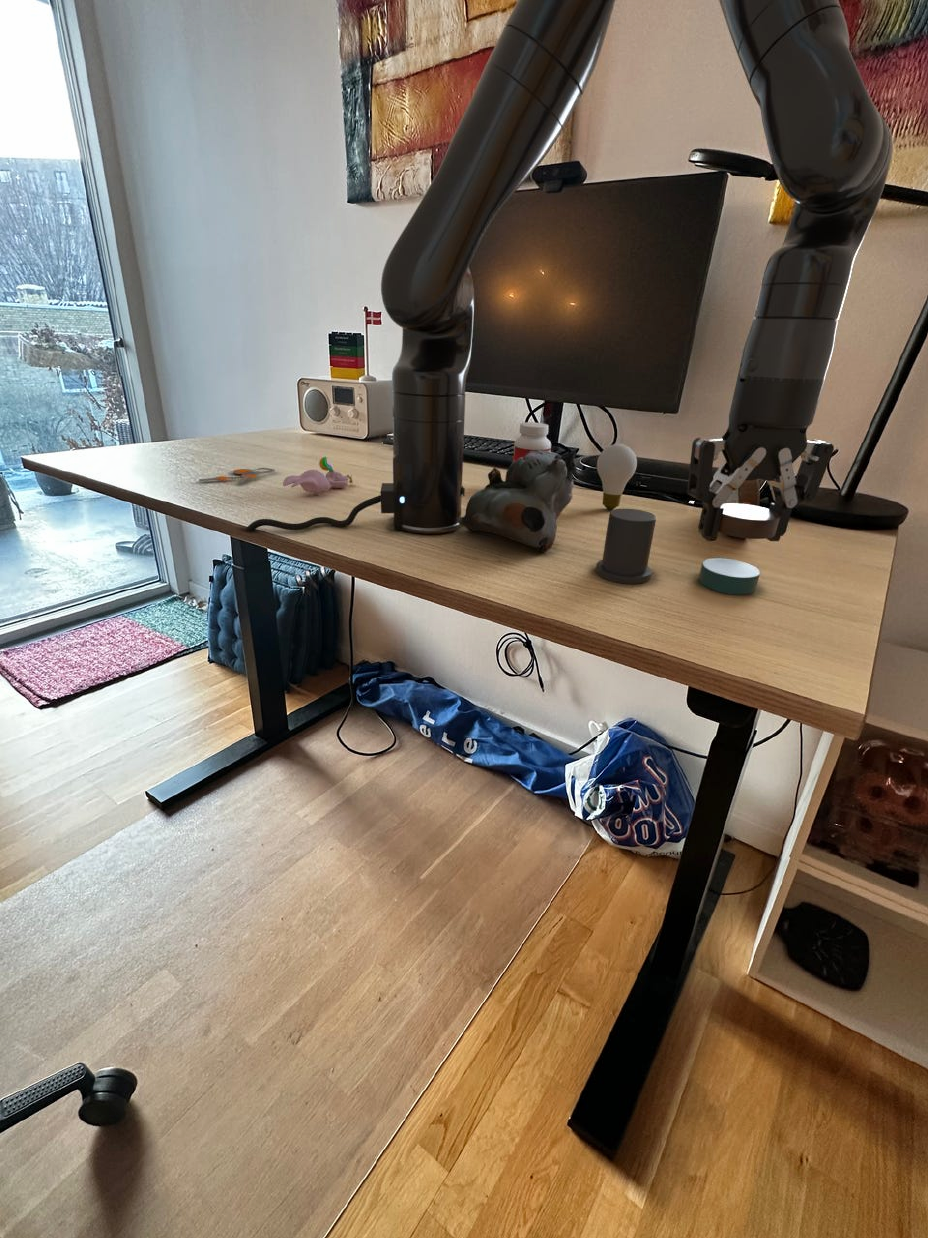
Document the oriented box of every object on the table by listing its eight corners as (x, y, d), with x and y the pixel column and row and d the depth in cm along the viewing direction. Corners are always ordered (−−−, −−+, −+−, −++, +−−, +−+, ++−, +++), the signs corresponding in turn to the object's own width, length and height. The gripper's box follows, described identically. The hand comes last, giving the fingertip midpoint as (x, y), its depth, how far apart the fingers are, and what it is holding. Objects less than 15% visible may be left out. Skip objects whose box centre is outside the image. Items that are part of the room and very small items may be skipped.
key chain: (249, 468, 108) (249, 463, 107) (281, 472, 105) (280, 468, 105) (195, 481, 97) (194, 476, 97) (229, 487, 95) (228, 482, 94)
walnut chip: (727, 539, 59) (732, 520, 58) (699, 520, 65) (703, 503, 64) (788, 539, 60) (793, 520, 59) (754, 520, 66) (759, 503, 65)
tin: (752, 545, 78) (768, 482, 74) (727, 542, 79) (742, 480, 75) (729, 514, 91) (742, 460, 88) (708, 513, 92) (720, 458, 88)
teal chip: (713, 594, 62) (717, 577, 61) (689, 573, 68) (693, 557, 67) (766, 594, 63) (771, 577, 62) (738, 573, 68) (742, 557, 67)
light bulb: (587, 511, 90) (596, 445, 86) (594, 502, 95) (603, 439, 91) (626, 516, 88) (637, 449, 84) (631, 507, 93) (642, 443, 89)
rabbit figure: (330, 490, 101) (270, 494, 88) (331, 454, 99) (270, 453, 86) (360, 495, 99) (304, 500, 86) (362, 458, 97) (305, 458, 84)
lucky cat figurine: (452, 523, 81) (494, 430, 80) (528, 559, 83) (571, 468, 82) (464, 524, 66) (515, 410, 65) (556, 567, 68) (608, 457, 67)
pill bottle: (507, 486, 103) (511, 421, 98) (540, 486, 104) (546, 421, 99) (515, 495, 97) (521, 426, 92) (550, 495, 98) (558, 427, 93)
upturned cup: (604, 584, 64) (614, 522, 61) (589, 563, 69) (597, 506, 66) (659, 584, 64) (671, 523, 61) (639, 564, 70) (649, 507, 67)
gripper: (826, 372, 60) (781, 529, 67) (692, 368, 58) (661, 528, 66) (879, 377, 53) (823, 551, 60) (728, 373, 52) (690, 551, 59)
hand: (739, 538), depth 63 cm, fingers closed on walnut chip, 6 cm apart
